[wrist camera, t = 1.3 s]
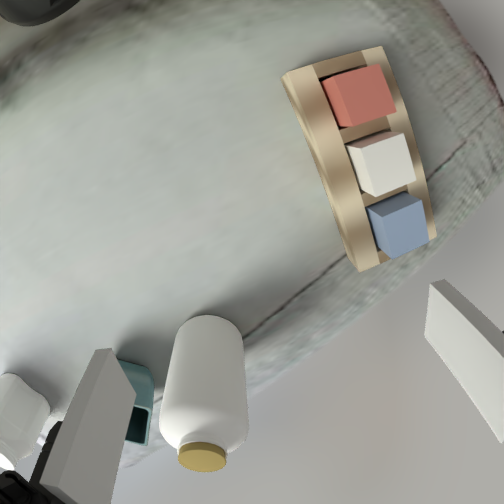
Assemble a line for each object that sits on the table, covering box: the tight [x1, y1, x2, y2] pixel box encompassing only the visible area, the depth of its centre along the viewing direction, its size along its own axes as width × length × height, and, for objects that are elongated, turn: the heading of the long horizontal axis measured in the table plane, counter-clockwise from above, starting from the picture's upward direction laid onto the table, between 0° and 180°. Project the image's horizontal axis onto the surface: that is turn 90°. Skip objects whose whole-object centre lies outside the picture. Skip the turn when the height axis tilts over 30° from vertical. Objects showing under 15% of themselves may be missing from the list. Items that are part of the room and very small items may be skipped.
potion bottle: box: [159, 315, 249, 472], centre depth 31 cm, size 8×8×18 cm
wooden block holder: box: [281, 46, 437, 273], centre depth 30 cm, size 21×10×4 cm, turn 23°
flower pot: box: [117, 359, 154, 446], centre depth 37 cm, size 9×9×9 cm
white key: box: [344, 131, 416, 197], centre depth 28 cm, size 4×4×5 cm
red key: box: [320, 64, 397, 127], centre depth 25 cm, size 4×4×5 cm
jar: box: [0, 373, 50, 470], centre depth 36 cm, size 12×10×15 cm
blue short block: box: [365, 191, 430, 259], centre depth 30 cm, size 4×4×5 cm
